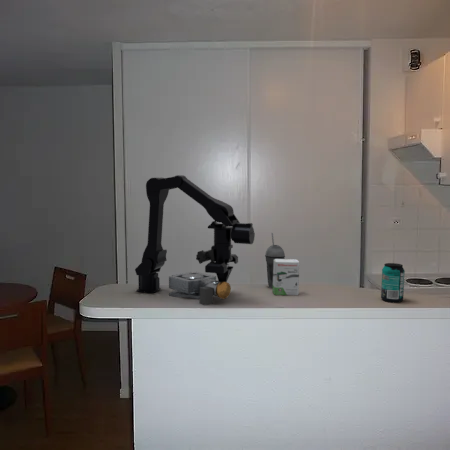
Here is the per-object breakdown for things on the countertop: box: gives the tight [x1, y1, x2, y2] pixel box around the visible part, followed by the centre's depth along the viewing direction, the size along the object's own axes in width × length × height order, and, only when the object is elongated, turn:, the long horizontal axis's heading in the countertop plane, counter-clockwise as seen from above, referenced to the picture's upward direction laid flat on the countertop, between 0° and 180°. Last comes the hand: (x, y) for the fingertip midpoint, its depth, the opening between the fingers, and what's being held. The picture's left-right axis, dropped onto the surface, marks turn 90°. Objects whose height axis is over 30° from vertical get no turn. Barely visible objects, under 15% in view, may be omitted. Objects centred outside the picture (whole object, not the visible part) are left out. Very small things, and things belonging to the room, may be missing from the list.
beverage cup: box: [264, 232, 286, 289], centre depth 182 cm, size 7×7×20 cm
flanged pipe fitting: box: [168, 271, 232, 300], centre depth 168 cm, size 22×12×5 cm, turn 43°
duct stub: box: [168, 274, 203, 300], centre depth 172 cm, size 12×12×6 cm
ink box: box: [272, 258, 301, 296], centre depth 173 cm, size 9×5×12 cm, turn 93°
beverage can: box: [380, 262, 406, 304], centre depth 165 cm, size 7×7×12 cm
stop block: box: [199, 286, 214, 306], centre depth 160 cm, size 3×3×5 cm
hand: (222, 288), depth 167 cm, fingers closed
